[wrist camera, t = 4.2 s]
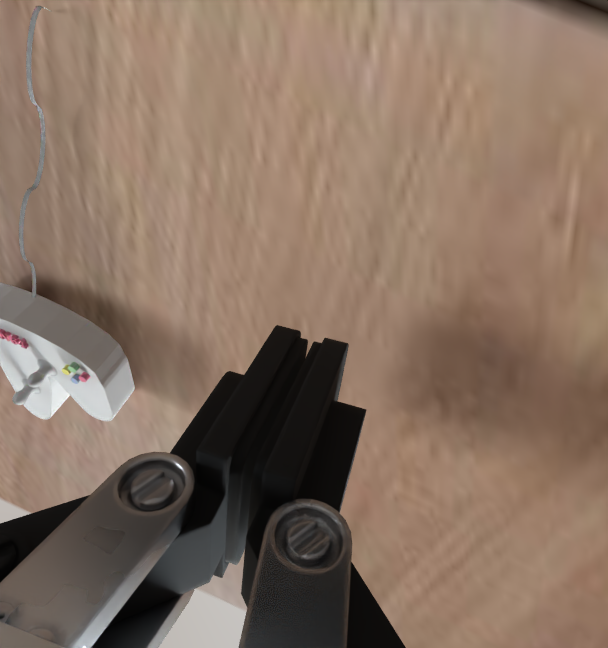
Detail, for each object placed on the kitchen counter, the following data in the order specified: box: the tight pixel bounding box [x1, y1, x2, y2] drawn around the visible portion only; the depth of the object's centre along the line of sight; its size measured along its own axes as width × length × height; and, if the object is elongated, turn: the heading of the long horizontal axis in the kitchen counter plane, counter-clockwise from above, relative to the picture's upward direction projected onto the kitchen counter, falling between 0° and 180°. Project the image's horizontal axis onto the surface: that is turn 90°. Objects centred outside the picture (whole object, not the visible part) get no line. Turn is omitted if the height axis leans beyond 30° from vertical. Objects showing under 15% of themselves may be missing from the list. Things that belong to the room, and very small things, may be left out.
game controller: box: [0, 6, 135, 421], centre depth 13 cm, size 6×12×3 cm, turn 2°
